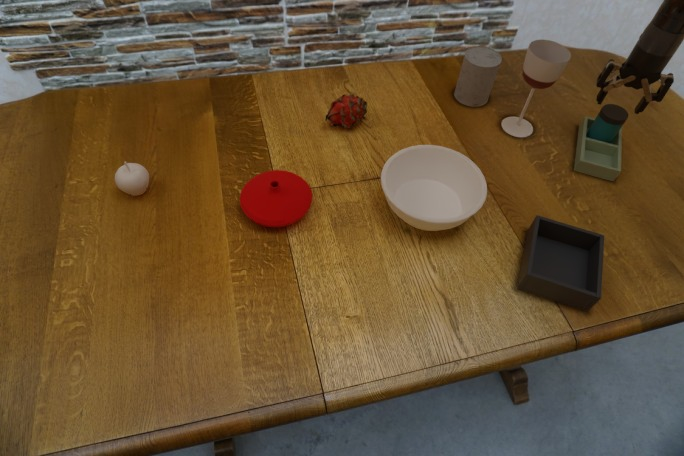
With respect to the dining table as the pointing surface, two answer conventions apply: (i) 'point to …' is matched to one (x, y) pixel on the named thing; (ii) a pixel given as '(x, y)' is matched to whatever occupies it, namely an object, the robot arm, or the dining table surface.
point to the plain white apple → (132, 178)
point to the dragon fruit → (347, 111)
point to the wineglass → (538, 78)
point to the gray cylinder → (477, 76)
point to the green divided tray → (597, 154)
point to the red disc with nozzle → (276, 198)
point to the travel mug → (607, 123)
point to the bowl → (433, 187)
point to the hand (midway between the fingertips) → (617, 107)
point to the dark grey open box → (562, 263)
